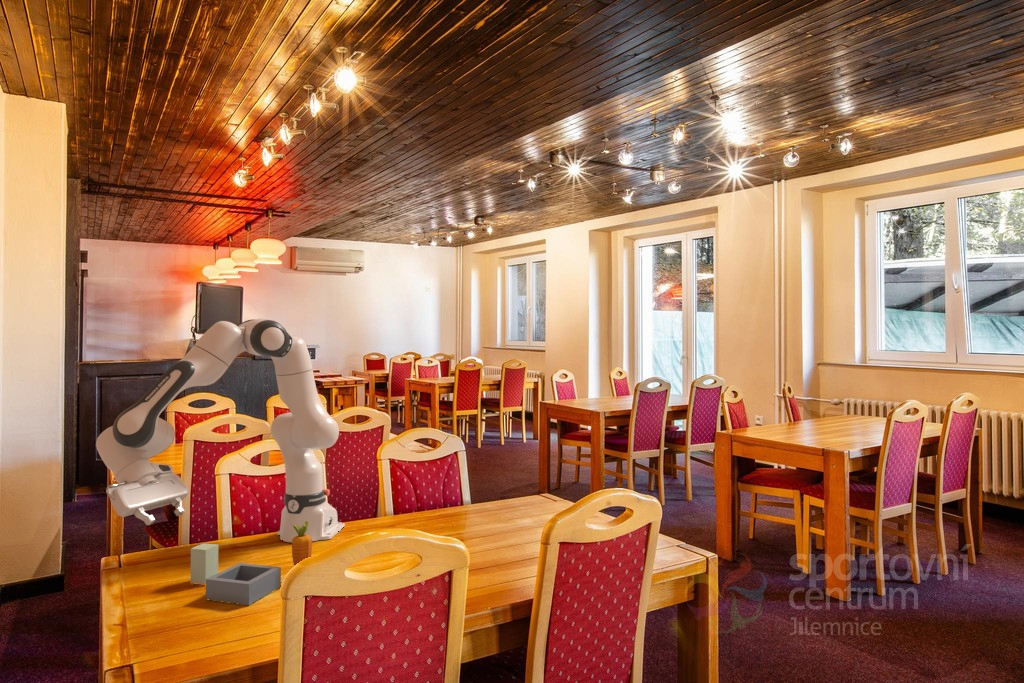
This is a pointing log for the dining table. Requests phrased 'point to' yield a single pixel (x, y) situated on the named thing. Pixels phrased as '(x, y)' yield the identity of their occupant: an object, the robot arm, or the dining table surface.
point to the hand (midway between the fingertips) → (166, 518)
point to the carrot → (301, 544)
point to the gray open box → (243, 583)
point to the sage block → (203, 562)
